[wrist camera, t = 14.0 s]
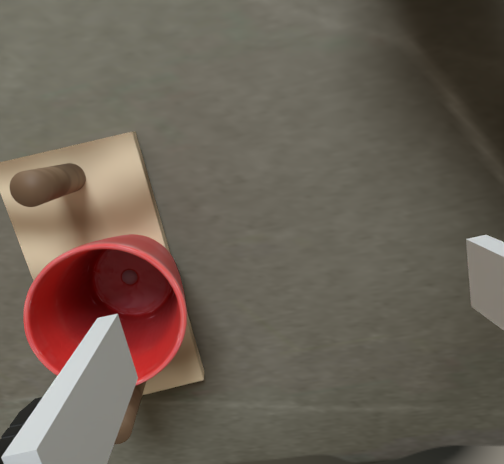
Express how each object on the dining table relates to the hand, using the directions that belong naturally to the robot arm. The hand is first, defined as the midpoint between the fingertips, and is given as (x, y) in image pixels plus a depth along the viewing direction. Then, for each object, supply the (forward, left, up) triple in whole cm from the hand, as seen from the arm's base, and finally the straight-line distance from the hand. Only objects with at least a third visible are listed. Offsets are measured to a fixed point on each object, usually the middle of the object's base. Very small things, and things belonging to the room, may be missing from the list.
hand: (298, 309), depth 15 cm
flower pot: (+3, -12, -22) cm, 25 cm away
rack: (+3, -14, -24) cm, 28 cm away
